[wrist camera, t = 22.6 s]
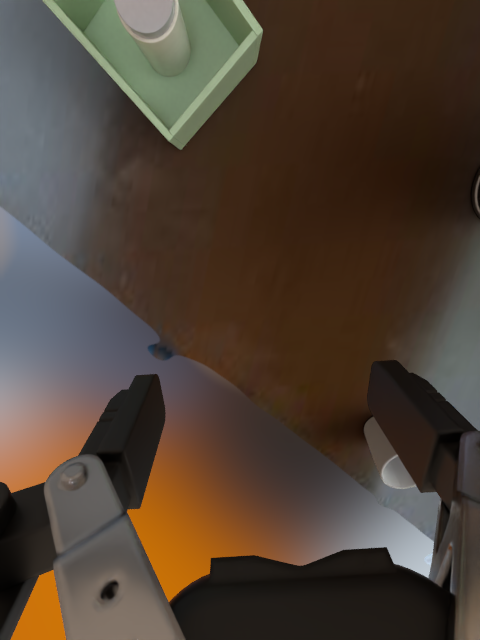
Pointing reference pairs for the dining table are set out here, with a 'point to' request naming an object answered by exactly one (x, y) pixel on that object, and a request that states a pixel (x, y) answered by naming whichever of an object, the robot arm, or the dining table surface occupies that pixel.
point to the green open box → (193, 82)
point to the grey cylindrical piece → (157, 33)
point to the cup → (386, 457)
